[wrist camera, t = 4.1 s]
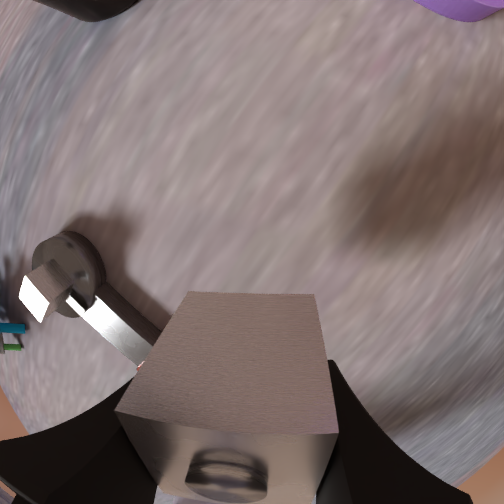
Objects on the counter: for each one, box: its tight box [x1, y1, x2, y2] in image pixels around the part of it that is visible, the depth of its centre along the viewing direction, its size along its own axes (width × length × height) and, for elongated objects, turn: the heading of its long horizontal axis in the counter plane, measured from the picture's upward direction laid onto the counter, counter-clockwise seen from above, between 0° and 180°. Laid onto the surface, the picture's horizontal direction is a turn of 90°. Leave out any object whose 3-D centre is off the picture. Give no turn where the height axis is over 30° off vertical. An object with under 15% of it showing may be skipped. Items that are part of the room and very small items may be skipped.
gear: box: [0, 323, 25, 354], centre depth 20 cm, size 11×6×10 cm
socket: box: [114, 291, 339, 504], centre depth 8 cm, size 5×5×6 cm
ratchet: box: [19, 231, 162, 370], centre depth 18 cm, size 18×6×5 cm, turn 47°
